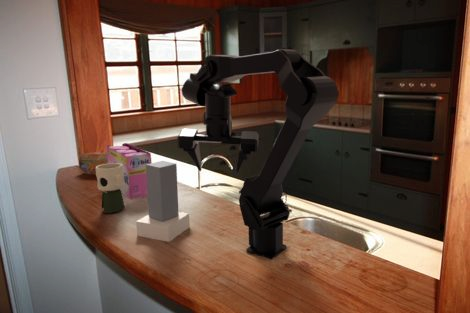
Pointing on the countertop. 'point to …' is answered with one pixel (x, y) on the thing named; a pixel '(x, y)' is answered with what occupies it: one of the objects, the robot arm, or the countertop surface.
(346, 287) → the countertop surface
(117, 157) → the gum box
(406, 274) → the countertop surface
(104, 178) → the character mug
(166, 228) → the cream slab
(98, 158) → the tin
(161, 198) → the grey column
